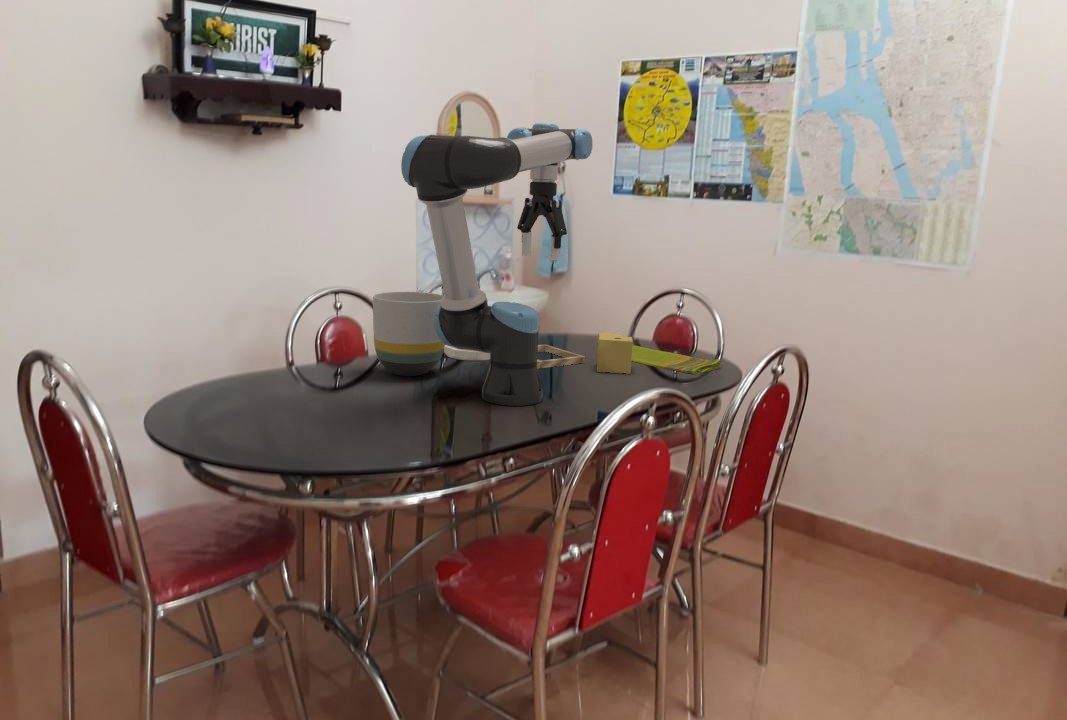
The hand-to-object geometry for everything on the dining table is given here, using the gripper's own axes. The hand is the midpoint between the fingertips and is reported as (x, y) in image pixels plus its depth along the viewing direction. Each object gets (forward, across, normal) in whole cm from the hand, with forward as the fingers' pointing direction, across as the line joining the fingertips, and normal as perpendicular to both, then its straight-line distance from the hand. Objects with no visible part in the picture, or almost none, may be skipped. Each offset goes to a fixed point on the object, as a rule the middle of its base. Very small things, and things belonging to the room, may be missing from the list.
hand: (540, 258), depth 237 cm
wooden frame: (+32, +8, -8) cm, 34 cm away
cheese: (+32, -12, -19) cm, 39 cm away
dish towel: (+32, -10, -40) cm, 53 cm away
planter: (+32, +8, +37) cm, 49 cm away
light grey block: (+32, +3, -2) cm, 32 cm away
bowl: (+32, +22, +8) cm, 39 cm away
